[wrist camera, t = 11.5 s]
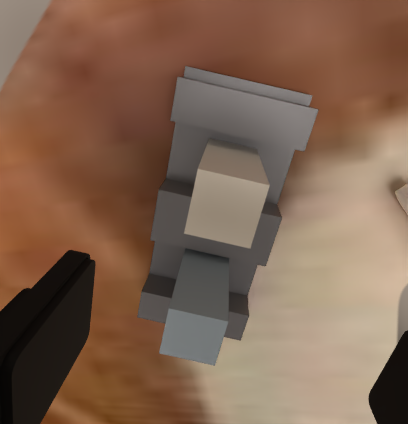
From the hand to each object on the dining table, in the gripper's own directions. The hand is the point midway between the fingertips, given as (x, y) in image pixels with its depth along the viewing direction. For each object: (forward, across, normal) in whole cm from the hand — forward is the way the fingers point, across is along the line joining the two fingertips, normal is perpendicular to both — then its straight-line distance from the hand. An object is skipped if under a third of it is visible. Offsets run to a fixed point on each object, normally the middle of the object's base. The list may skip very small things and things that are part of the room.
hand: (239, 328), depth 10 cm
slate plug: (+19, +1, +10) cm, 22 cm away
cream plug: (+19, +1, 0) cm, 19 cm away
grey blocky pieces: (+20, +1, +5) cm, 21 cm away
